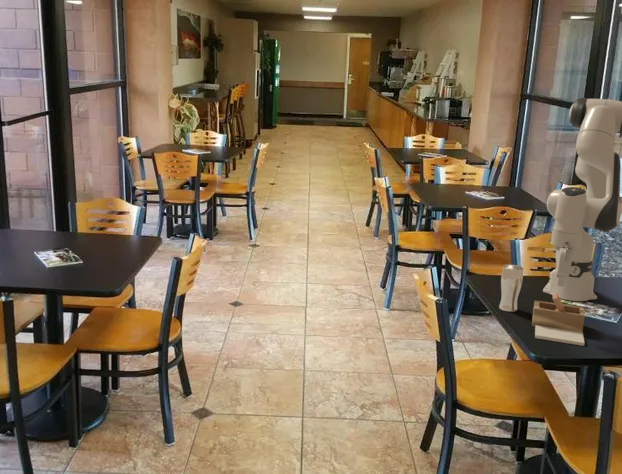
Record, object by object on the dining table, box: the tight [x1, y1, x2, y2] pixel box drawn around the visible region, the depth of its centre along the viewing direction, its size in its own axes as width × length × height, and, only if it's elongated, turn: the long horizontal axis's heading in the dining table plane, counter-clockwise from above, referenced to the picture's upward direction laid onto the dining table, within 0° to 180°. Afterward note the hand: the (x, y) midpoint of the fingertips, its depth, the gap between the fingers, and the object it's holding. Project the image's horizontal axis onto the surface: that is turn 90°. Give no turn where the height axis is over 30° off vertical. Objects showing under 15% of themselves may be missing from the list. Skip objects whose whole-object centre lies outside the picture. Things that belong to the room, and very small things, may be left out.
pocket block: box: [531, 299, 586, 332], centre depth 211 cm, size 9×15×6 cm, turn 71°
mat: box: [534, 325, 585, 347], centre depth 202 cm, size 9×14×1 cm, turn 71°
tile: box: [551, 293, 566, 312], centre depth 210 cm, size 5×11×3 cm
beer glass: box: [498, 264, 524, 313], centre depth 223 cm, size 7×7×15 cm
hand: (560, 281), depth 208 cm, fingers open, 8 cm apart
